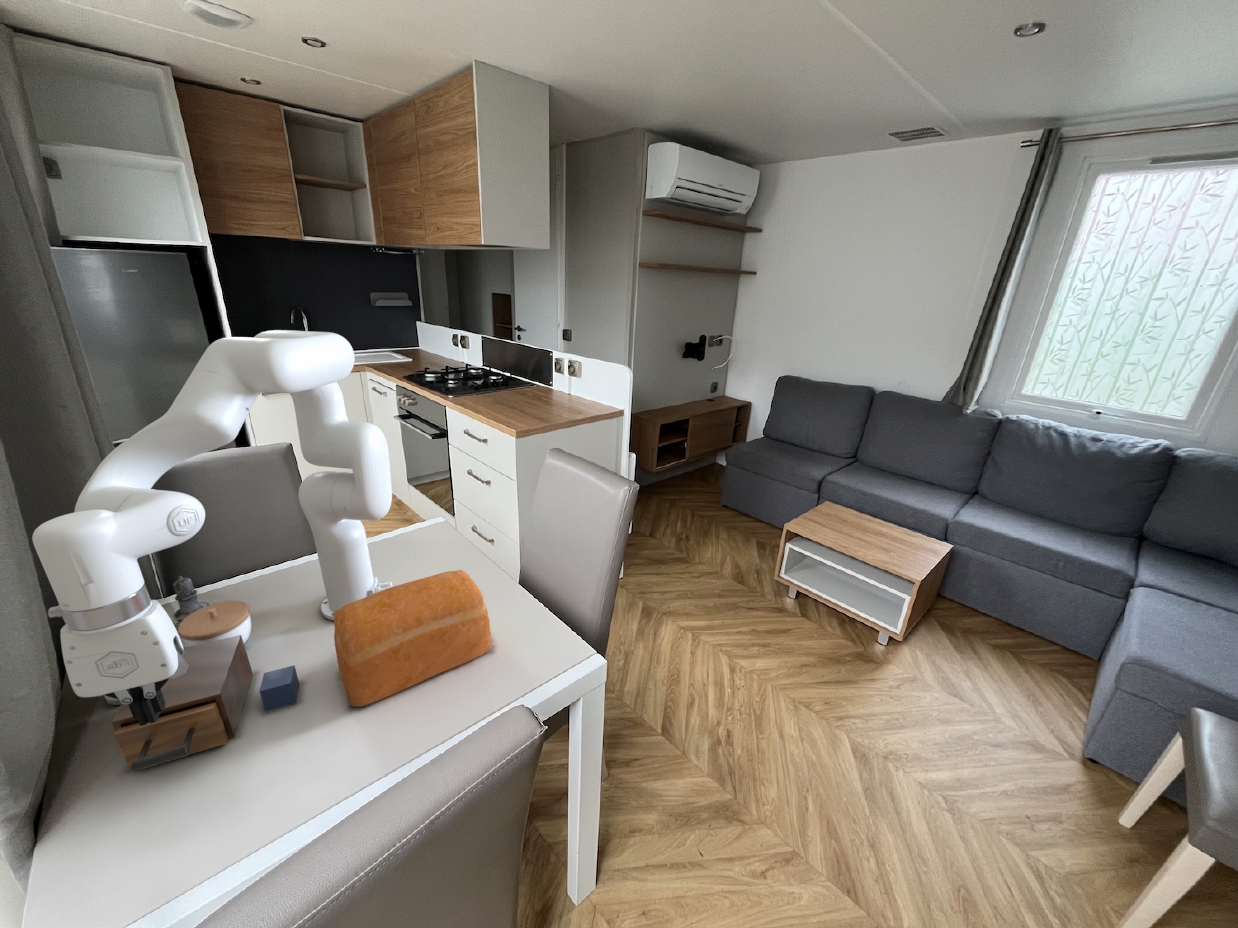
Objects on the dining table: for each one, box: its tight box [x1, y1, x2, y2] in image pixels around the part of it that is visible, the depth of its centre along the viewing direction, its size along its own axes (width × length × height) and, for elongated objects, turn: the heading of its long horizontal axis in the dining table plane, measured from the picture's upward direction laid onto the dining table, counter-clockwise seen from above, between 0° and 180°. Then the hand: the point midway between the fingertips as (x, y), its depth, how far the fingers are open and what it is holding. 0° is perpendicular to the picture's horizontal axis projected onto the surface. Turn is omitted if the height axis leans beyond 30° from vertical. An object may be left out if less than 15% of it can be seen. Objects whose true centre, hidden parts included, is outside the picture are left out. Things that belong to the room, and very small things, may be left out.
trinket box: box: [177, 600, 253, 648], centre depth 95 cm, size 11×11×9 cm
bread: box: [333, 569, 493, 707], centre depth 92 cm, size 14×26×16 cm, turn 127°
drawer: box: [113, 700, 229, 773], centre depth 76 cm, size 18×11×7 cm, turn 25°
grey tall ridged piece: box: [172, 575, 210, 624], centre depth 101 cm, size 6×6×12 cm
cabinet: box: [111, 635, 254, 741], centre depth 80 cm, size 15×13×9 cm
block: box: [258, 664, 301, 712], centre depth 85 cm, size 4×4×4 cm
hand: (152, 716), depth 69 cm, fingers closed
